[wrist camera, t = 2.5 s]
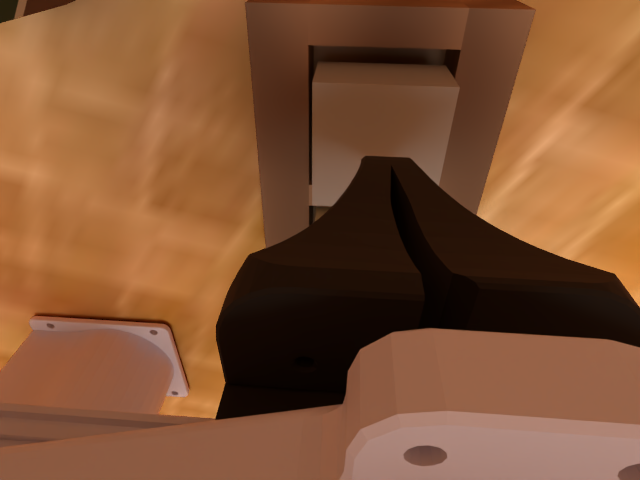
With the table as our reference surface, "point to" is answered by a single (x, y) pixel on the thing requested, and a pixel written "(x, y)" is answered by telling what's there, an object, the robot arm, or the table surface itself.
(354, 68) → the key slate
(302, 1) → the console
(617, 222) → the table surface
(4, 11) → the beer bottle
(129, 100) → the table surface
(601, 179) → the table surface
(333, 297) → the robot arm
